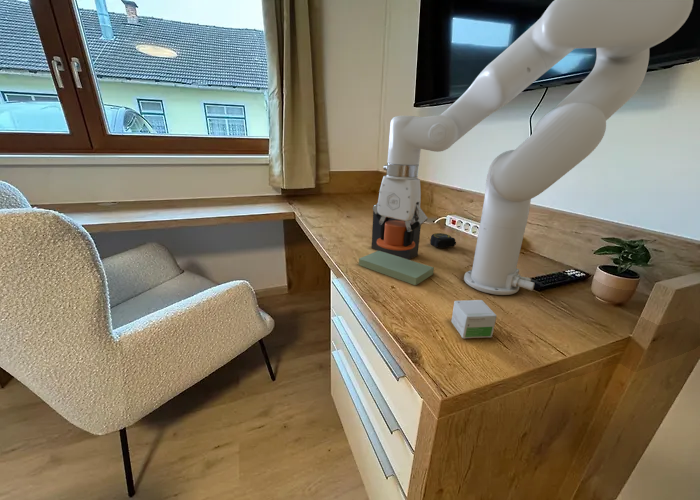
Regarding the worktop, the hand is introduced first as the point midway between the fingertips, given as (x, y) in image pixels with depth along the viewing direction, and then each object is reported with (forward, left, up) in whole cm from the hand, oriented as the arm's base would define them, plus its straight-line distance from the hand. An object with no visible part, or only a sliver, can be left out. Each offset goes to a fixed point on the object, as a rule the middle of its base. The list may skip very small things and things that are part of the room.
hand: (396, 241), depth 81 cm
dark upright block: (+8, -12, -8) cm, 16 cm away
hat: (0, 0, -1) cm, 1 cm away
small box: (-26, +13, -8) cm, 31 cm away
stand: (0, 0, -8) cm, 8 cm away
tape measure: (-1, -27, -8) cm, 28 cm away
